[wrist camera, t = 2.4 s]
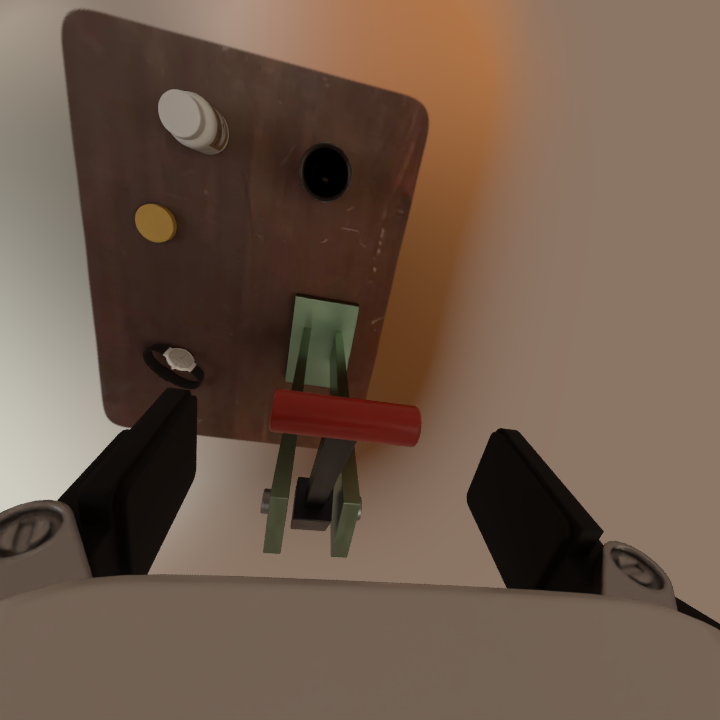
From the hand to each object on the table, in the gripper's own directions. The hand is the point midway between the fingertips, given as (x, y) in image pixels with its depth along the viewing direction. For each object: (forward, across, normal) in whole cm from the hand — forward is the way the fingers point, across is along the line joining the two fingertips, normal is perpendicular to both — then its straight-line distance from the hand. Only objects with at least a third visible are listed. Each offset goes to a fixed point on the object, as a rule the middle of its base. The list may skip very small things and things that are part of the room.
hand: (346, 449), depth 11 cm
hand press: (+35, 0, +10) cm, 37 cm away
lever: (+6, 0, +5) cm, 7 cm away
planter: (+35, +2, -10) cm, 37 cm away
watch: (+36, +18, +16) cm, 43 cm away
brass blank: (+35, +20, -1) cm, 41 cm away
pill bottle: (+35, +15, -12) cm, 40 cm away
